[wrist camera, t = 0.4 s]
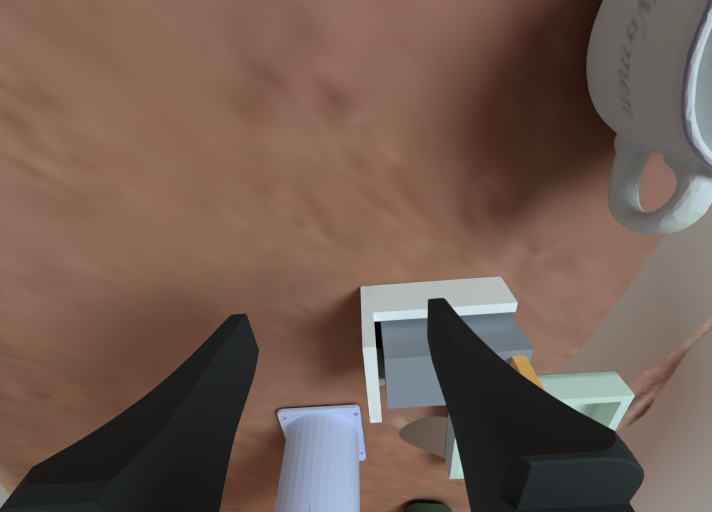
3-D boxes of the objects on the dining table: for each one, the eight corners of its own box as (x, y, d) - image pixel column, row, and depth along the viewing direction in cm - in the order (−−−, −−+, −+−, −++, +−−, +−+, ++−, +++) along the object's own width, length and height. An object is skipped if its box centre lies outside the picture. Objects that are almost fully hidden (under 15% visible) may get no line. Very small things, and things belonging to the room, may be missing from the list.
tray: (577, 447, 36) (591, 471, 34) (444, 454, 37) (449, 479, 35) (614, 370, 30) (634, 395, 28) (451, 380, 30) (459, 405, 28)
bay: (487, 348, 28) (517, 414, 23) (367, 356, 29) (370, 422, 24) (500, 276, 24) (539, 335, 19) (360, 286, 25) (362, 347, 20)
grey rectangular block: (488, 336, 28) (540, 445, 20) (381, 343, 28) (391, 453, 20) (496, 289, 25) (559, 392, 18) (378, 297, 26) (389, 402, 18)
